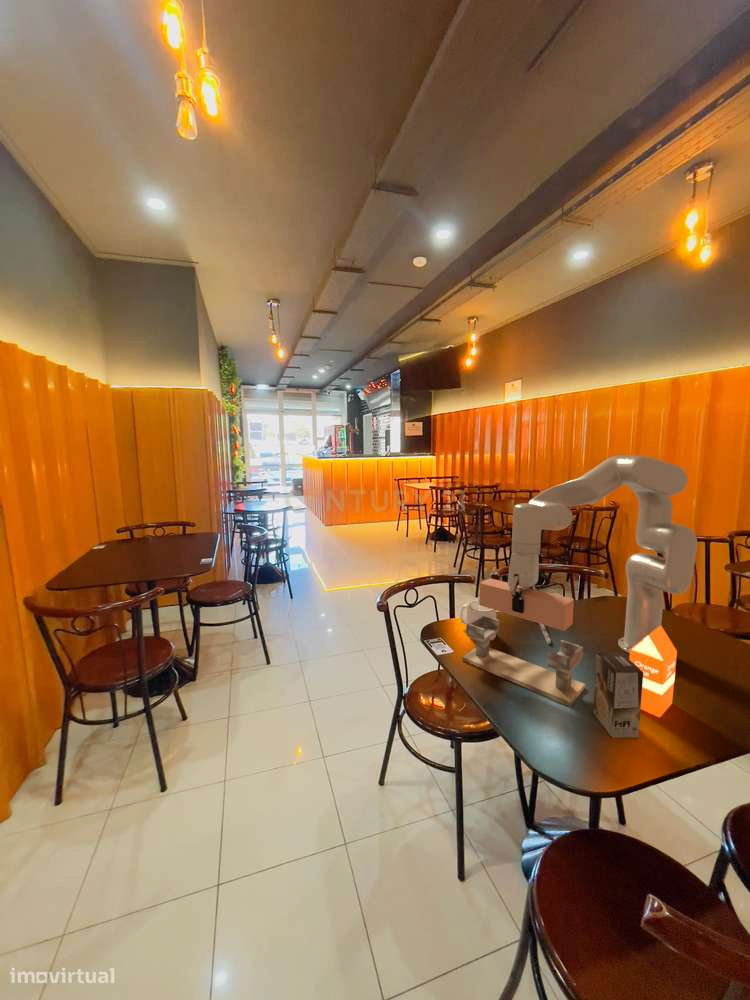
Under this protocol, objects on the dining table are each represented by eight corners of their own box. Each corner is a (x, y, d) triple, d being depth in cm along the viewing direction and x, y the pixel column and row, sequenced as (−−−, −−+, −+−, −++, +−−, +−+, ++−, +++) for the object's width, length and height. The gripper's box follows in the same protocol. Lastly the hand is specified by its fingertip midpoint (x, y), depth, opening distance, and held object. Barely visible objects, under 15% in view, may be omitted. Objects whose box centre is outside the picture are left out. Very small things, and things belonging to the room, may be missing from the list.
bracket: (534, 610, 156) (538, 592, 151) (549, 659, 139) (554, 641, 133) (526, 610, 157) (530, 592, 151) (539, 658, 139) (544, 640, 134)
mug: (452, 631, 145) (452, 603, 143) (468, 622, 151) (469, 595, 150) (485, 644, 135) (486, 614, 133) (501, 634, 142) (502, 605, 140)
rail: (572, 623, 109) (573, 599, 108) (564, 631, 105) (565, 605, 104) (489, 599, 127) (490, 578, 126) (479, 605, 123) (479, 582, 122)
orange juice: (672, 703, 103) (679, 630, 100) (660, 718, 98) (667, 640, 95) (638, 689, 109) (644, 619, 107) (624, 702, 104) (630, 629, 101)
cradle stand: (584, 687, 110) (587, 646, 109) (570, 706, 103) (572, 662, 101) (480, 647, 133) (481, 613, 131) (462, 660, 125) (463, 624, 123)
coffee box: (640, 738, 91) (645, 672, 89) (611, 738, 92) (616, 672, 89) (617, 711, 100) (621, 651, 98) (591, 711, 101) (595, 651, 98)
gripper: (526, 540, 122) (524, 596, 124) (498, 550, 110) (496, 613, 112) (551, 544, 116) (548, 603, 119) (524, 556, 104) (521, 621, 107)
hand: (523, 607), depth 116 cm, fingers closed on rail, 6 cm apart
